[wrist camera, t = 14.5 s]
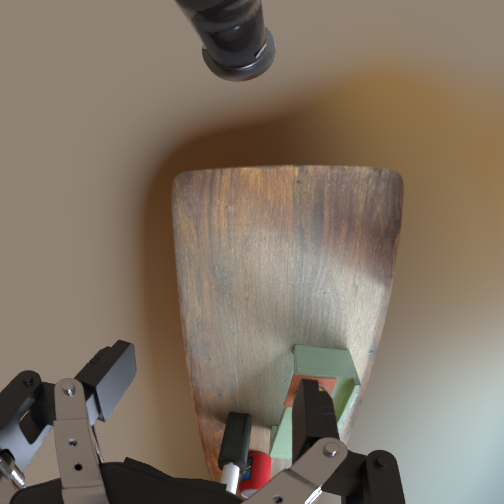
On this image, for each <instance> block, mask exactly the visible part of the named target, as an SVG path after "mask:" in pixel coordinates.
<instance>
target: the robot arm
mask: <svg viewBox="0 0 504 504" xmlns="http://www.w3.org/2000/svg"><path fill="white" fill-rule="evenodd" d="M175 2H176V4H177V5H178V7H179V8H180V9H181V11H182V13H183V14H184V16H185V17H186V19H187V20H188V21H189V23H190V24H191V26H192V27H193V29H194V30H195V32H196V34H197V35H198V37H199V38H200V40H201V41H202V43H203V44H204V46H205V47H206V49H207V51H208V52H209V54H210V57H211V58H212V60H213V61H214V62H215V63H216V64H217V65H218V66H220V67H222V68H224V69H227V70H232V71H240V70H245V69H248V68H251V67H253V66H255V65H256V64H258V63H259V62H260V61H261V60H262V59H263V57H264V56H265V54H266V51H267V39H266V35H265V26H264V19H263V11H262V4H261V0H175ZM135 374H136V359H135V348H134V344H132V343H129V342H126V341H122V340H118V341H117V342H116V343H115V344H114V345H113V346H112V347H109V346H108V347H105V348H103V349H101V350H99V352H98V353H97V354H96V355H95V356H94V358H92V359H91V360H90V362H89V363H87V364H86V365H85V366H84V368H83V369H82V370H81V371H80V372H79V373H78V374H77V375H76V376H75V377H74V378H73V379H72V378H66V379H62V380H60V381H59V382H57V383H56V384H52V383H47V382H42V381H41V378H40V376H39V374H38V373H36V372H34V371H30V370H29V371H28V370H27V371H23V372H21V373H19V374H18V375H17V376H16V377H15V378H14V379H13V380H12V381H11V382H10V383H9V384H8V385H7V386H6V387H5V388H4V389H3V390H2V391H1V393H0V504H310V503H311V502H312V501H313V500H314V499H315V498H316V496H317V495H318V494H319V493H320V492H321V491H324V492H328V493H332V494H336V495H340V496H341V502H342V503H341V504H405V498H404V493H403V489H402V484H401V479H400V474H399V469H398V465H397V461H396V458H395V457H394V456H393V455H392V454H391V453H389V452H387V451H384V450H375V451H372V452H371V453H370V454H368V456H366V455H362V454H358V453H354V452H351V451H349V450H348V449H347V447H346V445H345V444H344V443H343V442H342V441H340V438H339V433H338V427H337V421H336V415H335V410H334V404H333V399H332V397H331V396H330V395H329V393H328V392H327V391H319V384H318V380H315V379H305V378H302V379H301V380H300V383H299V386H298V389H297V393H296V396H295V399H294V402H293V406H292V466H291V467H290V468H288V469H286V468H285V469H283V470H282V471H280V472H279V473H278V474H277V475H276V476H274V477H273V478H272V479H271V480H270V481H268V482H267V483H266V484H265V485H264V486H262V487H261V488H260V489H259V490H257V491H256V492H255V493H254V494H252V495H251V496H250V497H248V498H247V499H246V500H244V499H242V498H241V497H239V496H238V495H236V494H234V493H232V492H230V491H227V490H226V488H227V484H223V483H218V482H213V481H208V480H203V479H185V478H173V477H171V476H169V475H167V474H165V473H163V472H161V471H159V470H158V469H156V468H154V467H152V466H150V465H148V464H145V463H142V462H139V461H136V460H134V459H131V458H128V457H126V458H125V460H124V462H107V463H105V462H104V459H103V456H102V453H101V449H100V445H99V441H98V438H97V433H96V429H95V426H94V423H95V421H96V420H97V419H98V420H100V421H103V422H106V420H107V419H108V417H109V415H110V414H111V412H112V411H113V409H114V408H115V406H116V405H117V403H118V402H119V400H120V399H121V397H122V396H123V394H124V393H125V391H126V390H127V388H128V387H129V385H130V384H131V382H132V381H133V379H134V377H135ZM27 410H28V413H27V414H26V415H25V416H24V417H23V419H22V420H21V422H20V419H21V418H22V416H23V415H24V414H25V413H26V412H27ZM19 422H20V423H19ZM52 427H54V437H55V445H56V452H57V459H58V465H59V471H60V476H61V477H60V478H57V479H54V480H50V481H47V482H44V483H40V484H36V485H33V486H29V487H25V488H24V482H25V477H24V474H23V471H24V470H25V468H26V467H27V465H28V463H29V462H30V460H31V459H32V457H33V456H34V454H35V453H36V451H37V450H38V448H39V447H40V445H41V444H42V442H43V441H44V439H45V438H46V436H47V435H48V433H49V432H50V430H51V429H52Z"/></svg>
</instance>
